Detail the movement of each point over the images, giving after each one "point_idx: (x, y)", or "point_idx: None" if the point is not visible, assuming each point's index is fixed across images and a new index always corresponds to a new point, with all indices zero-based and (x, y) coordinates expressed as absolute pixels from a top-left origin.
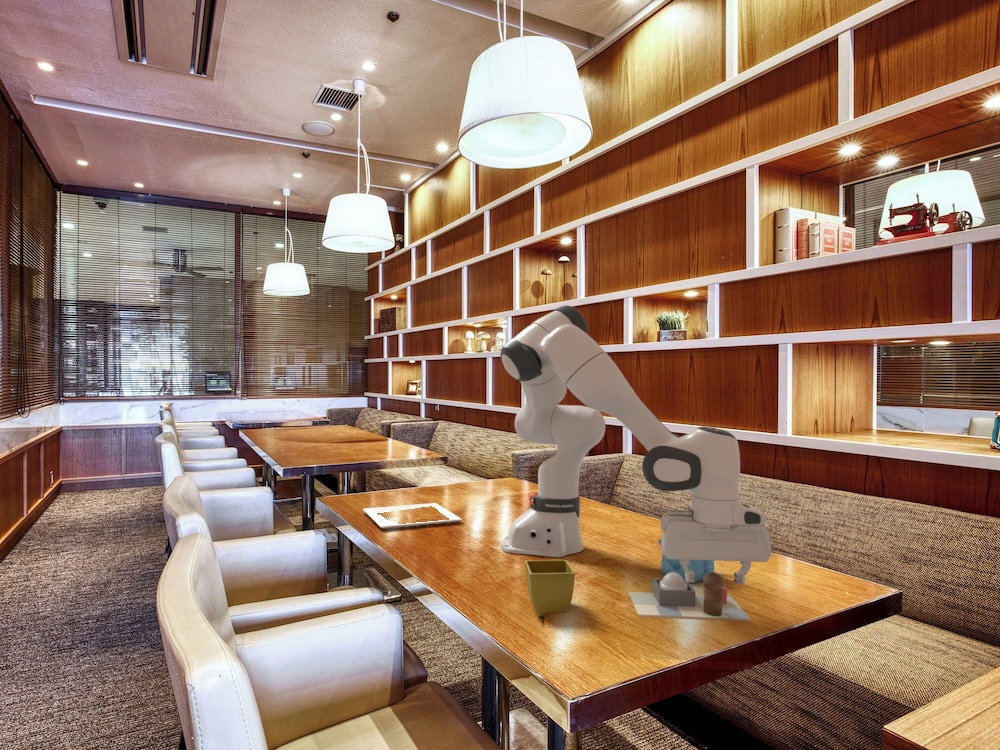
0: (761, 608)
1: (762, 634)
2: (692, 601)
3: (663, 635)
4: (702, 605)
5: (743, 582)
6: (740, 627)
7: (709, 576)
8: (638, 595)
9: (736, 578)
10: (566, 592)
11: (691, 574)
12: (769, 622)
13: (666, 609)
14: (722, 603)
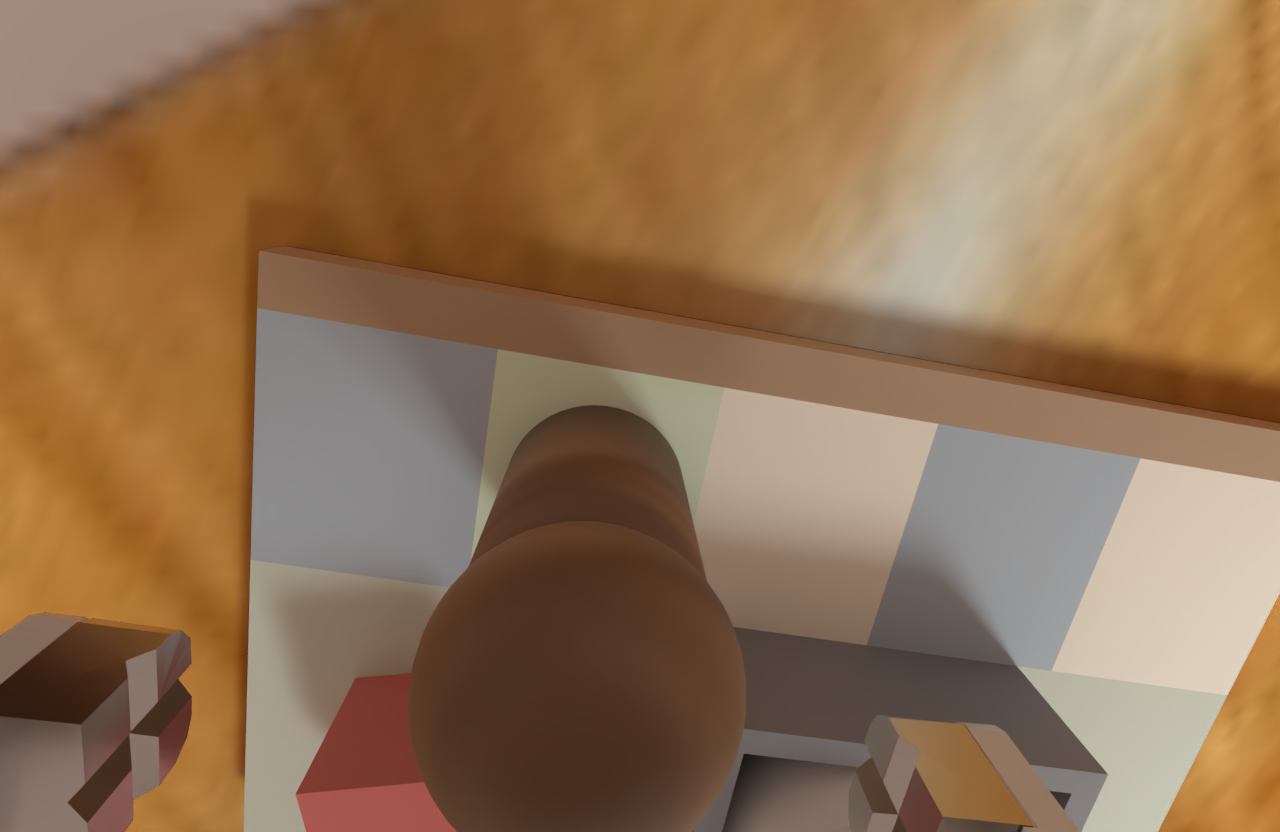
0: None
1: (259, 51)
2: None
3: (1275, 120)
4: None
5: (48, 623)
6: (420, 243)
7: (692, 724)
8: None
9: (129, 725)
10: None
11: (996, 815)
12: (66, 337)
13: (1003, 581)
14: (398, 677)
